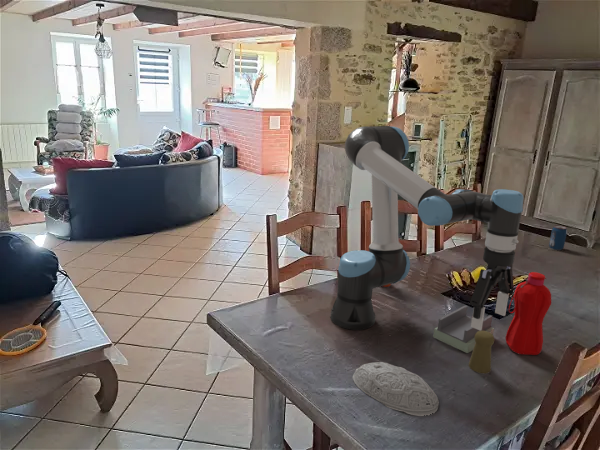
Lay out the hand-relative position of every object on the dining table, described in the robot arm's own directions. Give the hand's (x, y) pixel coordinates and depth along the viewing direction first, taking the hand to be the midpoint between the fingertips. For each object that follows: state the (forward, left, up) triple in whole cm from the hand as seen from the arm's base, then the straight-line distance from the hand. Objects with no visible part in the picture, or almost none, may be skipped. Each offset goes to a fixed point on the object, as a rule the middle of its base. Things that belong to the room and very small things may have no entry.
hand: (488, 321), depth 126 cm
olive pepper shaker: (0, 0, -15) cm, 15 cm away
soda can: (+138, +30, -15) cm, 142 cm away
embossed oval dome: (-28, +9, -16) cm, 33 cm away
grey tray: (+12, +12, -15) cm, 23 cm away
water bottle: (+20, -2, -15) cm, 25 cm away
